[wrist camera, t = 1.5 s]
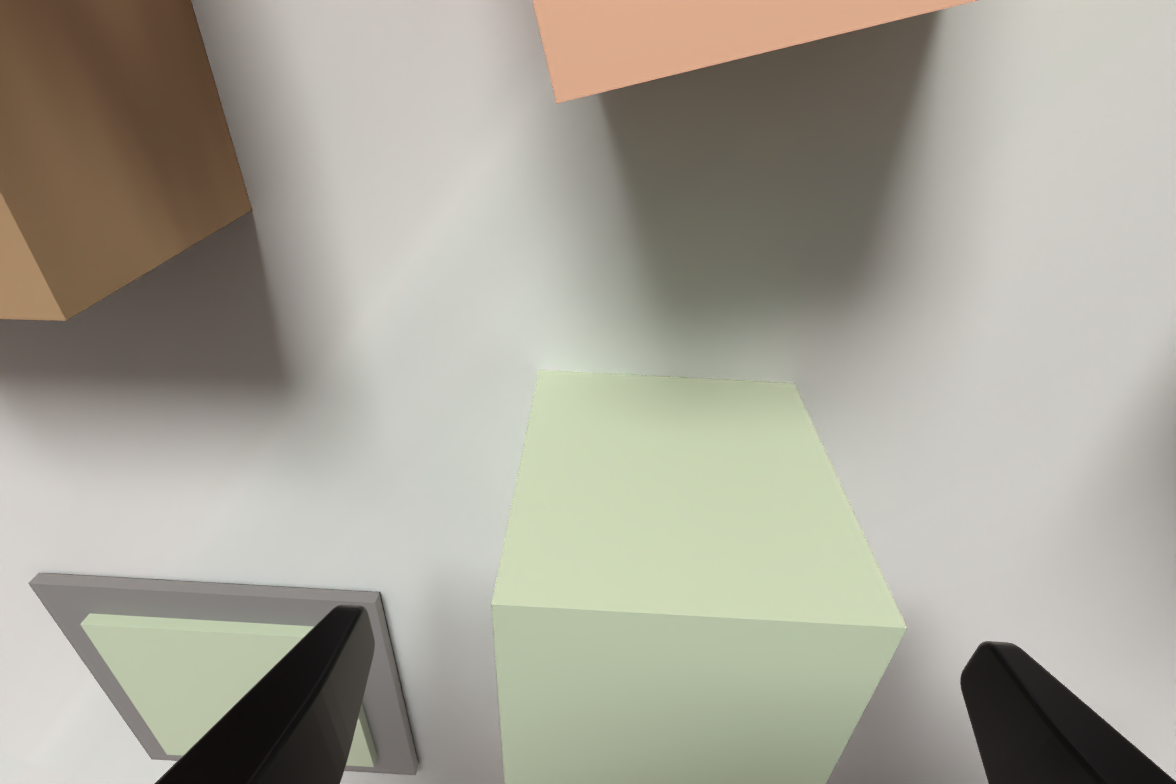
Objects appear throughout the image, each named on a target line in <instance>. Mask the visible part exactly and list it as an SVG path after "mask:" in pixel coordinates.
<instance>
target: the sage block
mask: <svg viewBox="0 0 1176 784" xmlns="http://www.w3.org/2000/svg"><path fill="white" fill-rule="evenodd" d="M491 607H492V621H493V634H494V648H495V661H496V675H497V688H498V702H499V715H500V729H501V742H502V756H503V769H504V783H505V784H826V783H827V781H828V779H829V777H830V775H831V773H832V771H833V769H834V767H835V766H836V764H837V762H838V760H839V758H840V756H841V754H842V752H843V750H844V748H845V746H846V744H847V743H848V741H849V739H850V737H851V735H852V733H853V731H854V729H855V727H856V725H857V723H858V722H859V720H860V718H861V716H862V714H863V712H864V710H865V708H866V706H867V704H868V702H869V701H870V699H871V697H872V695H873V693H874V691H875V689H876V687H877V685H878V683H879V681H880V679H881V678H882V676H883V674H884V672H885V670H886V668H887V666H888V664H889V662H890V660H891V658H892V657H893V655H894V653H895V651H896V649H897V647H898V645H899V643H900V641H901V639H902V637H903V635H904V634H905V632H906V630H907V626H906V624H905V622H904V620H903V617H902V615H901V613H900V611H899V609H898V607H897V604H896V602H895V600H894V598H893V596H892V594H891V591H890V589H889V587H888V585H887V583H886V581H885V578H884V576H883V574H882V572H881V570H880V568H879V565H878V563H877V561H876V559H875V557H874V554H873V552H872V550H871V548H870V546H869V544H868V541H867V539H866V537H865V535H864V533H863V531H862V528H861V526H860V524H859V522H858V520H857V518H856V515H855V513H854V511H853V509H852V507H851V505H850V502H849V500H848V498H847V496H846V494H845V492H844V489H843V487H842V485H841V483H840V481H839V479H838V476H837V474H836V472H835V470H834V468H833V466H832V463H831V461H830V459H829V457H828V455H827V453H826V450H825V448H824V446H823V444H822V442H821V440H820V437H819V435H818V433H817V431H816V429H815V427H814V424H813V422H812V420H811V418H810V416H809V414H808V411H807V409H806V407H805V405H804V403H803V401H802V398H801V396H800V394H799V392H798V390H797V388H796V385H795V383H778V382H759V381H741V380H722V379H703V378H684V377H665V376H647V375H628V374H609V373H590V372H571V371H553V370H539V372H538V377H537V382H536V387H535V392H534V397H533V401H532V406H531V411H530V416H529V421H528V426H527V431H526V436H525V441H524V446H523V451H522V456H521V461H520V465H519V470H518V475H517V480H516V485H515V490H514V495H513V500H512V505H511V510H510V515H509V520H508V525H507V529H506V534H505V539H504V544H503V549H502V554H501V559H500V564H499V569H498V574H497V579H496V584H495V589H494V593H493V598H492V603H491Z"/></svg>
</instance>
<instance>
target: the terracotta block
mask: <svg viewBox="0 0 1176 784" xmlns="http://www.w3.org/2000/svg"><path fill="white" fill-rule="evenodd" d="M974 1H978V0H533V5H534V9H535V13H536V17H537V22H538V26H539V30H540V35H541V39H542V43H543V48H544V52H545V56H546V61H547V65H548V69H549V74H550V78H551V82H552V87H553V91H554V95H555V100H556V104H557V103H561V102H565V101H569V100H573V99H577V98H581V97H585V96H589V95H593V94H597V93H602V92H606V91H610V90H614V89H618V88H622V87H626V86H630V85H634V84H638V83H642V82H647V81H651V80H655V79H659V78H663V77H667V76H671V75H675V74H679V73H683V72H687V71H692V70H696V69H700V68H704V67H708V66H712V65H716V64H720V63H724V62H728V61H732V60H736V59H741V58H745V57H749V56H753V55H757V54H761V53H765V52H769V51H773V50H777V49H781V48H786V47H790V46H794V45H798V44H802V43H806V42H810V41H814V40H818V39H822V38H826V37H831V36H835V35H839V34H843V33H847V32H851V31H855V30H859V29H863V28H867V27H871V26H876V25H880V24H884V23H888V22H892V21H896V20H900V19H904V18H908V17H912V16H916V15H921V14H925V13H929V12H933V11H937V10H941V9H945V8H949V7H953V6H957V5H961V4H966V3H970V2H974Z"/></svg>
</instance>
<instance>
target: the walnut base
mask: <svg viewBox="0 0 1176 784" xmlns="http://www.w3.org/2000/svg"><path fill="white" fill-rule="evenodd" d="M251 210H252V208H251V204H250V201H249V198H248V194H247V191H246V187H245V184H244V181H243V177H242V174H241V170H240V167H239V163H238V160H237V157H236V153H235V150H234V146H233V143H232V139H231V136H230V133H229V129H228V126H227V122H226V119H225V116H224V112H223V109H222V105H221V102H220V98H219V95H218V92H217V88H216V85H215V81H214V78H213V74H212V71H211V68H210V64H209V61H208V57H207V54H206V51H205V47H204V44H203V40H202V37H201V33H200V30H199V27H198V23H197V20H196V16H195V13H194V9H193V6H192V3H191V0H0V319H22V320H60V321H66V320H68V319H70V318H71V317H73V316H75V315H76V314H78V313H80V312H82V311H83V310H85V309H87V308H88V307H90V306H92V305H93V304H95V303H97V302H98V301H100V300H102V299H103V298H105V297H107V296H108V295H110V294H112V293H113V292H115V291H117V290H118V289H120V288H122V287H124V286H125V285H127V284H129V283H130V282H132V281H134V280H135V279H137V278H139V277H140V276H142V275H144V274H145V273H147V272H149V271H150V270H152V269H154V268H155V267H157V266H159V265H160V264H162V263H164V262H166V261H167V260H169V259H171V258H172V257H174V256H176V255H177V254H179V253H181V252H182V251H184V250H186V249H187V248H189V247H191V246H192V245H194V244H196V243H197V242H199V241H201V240H202V239H204V238H206V237H208V236H209V235H211V234H213V233H214V232H216V231H218V230H219V229H221V228H223V227H224V226H226V225H228V224H229V223H231V222H233V221H234V220H236V219H238V218H239V217H241V216H243V215H244V214H246V213H248V212H250V211H251Z"/></svg>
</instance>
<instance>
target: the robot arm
mask: <svg viewBox="0 0 1176 784" xmlns="http://www.w3.org/2000/svg"><path fill="white" fill-rule="evenodd" d="M374 650H375V638H374V634H373V630H372V626H371V622H370V618H369V614H368V611H367V609H366V608H365V607H364V606H362V605H345V604H342V605H338V606H336V607H334V608H333V609H332V610H331V611H330V612H329V613H328V614H327V615H326V616H325V617H324V618H323V619H322V620H321V621H319V622H318V623H317V624H316V625H315V626H314V627H313V628H312V629H311V630H310V631H309V632H308V633H307V634H306V635H305V636H304V637H303V638H302V639H301V640H300V641H299V642H298V643H297V644H296V645H295V646H294V647H293V648H292V649H291V650H290V651H289V652H288V653H287V654H286V655H285V656H284V657H283V658H282V659H281V660H280V661H279V662H278V663H277V664H276V665H275V666H274V667H273V668H272V669H271V670H270V671H269V672H268V673H267V674H266V675H265V676H264V677H263V678H262V679H261V680H260V681H259V682H257V683H256V684H255V685H254V686H253V687H252V688H251V689H250V690H249V691H248V692H247V693H246V694H245V695H244V696H243V697H242V698H241V699H240V700H239V701H238V702H237V703H236V704H235V705H234V706H233V707H232V708H231V709H230V710H229V711H228V712H227V713H226V714H225V715H224V716H223V717H222V718H221V719H220V720H219V721H218V722H217V723H216V724H215V725H214V726H213V727H212V728H211V729H210V730H209V731H208V732H207V733H206V734H205V735H204V736H203V737H202V738H201V739H200V740H199V741H198V742H197V743H195V744H194V745H193V746H192V747H191V748H190V749H189V750H188V751H187V752H186V753H185V754H184V755H183V756H182V757H181V758H180V759H179V760H178V761H177V762H176V763H175V764H174V765H173V766H172V767H171V768H170V769H169V770H168V771H167V772H166V773H165V774H164V775H163V776H162V777H161V778H160V779H159V780H158V781H157V782H156V783H155V784H340V781H341V778H342V775H343V772H344V769H345V766H346V763H347V760H348V756H349V752H350V749H351V745H352V741H353V737H354V733H355V729H356V725H357V721H358V717H359V713H360V709H361V705H362V701H363V696H364V692H365V688H366V684H367V680H368V676H369V672H370V668H371V664H372V660H373V656H374ZM960 683H961V690H962V694H963V697H964V701H965V704H966V707H967V711H968V714H969V718H970V721H971V724H972V728H973V731H974V735H975V738H976V742H977V745H978V748H979V752H980V755H981V759H982V762H983V766H984V769H985V772H986V776H987V779H988V783H989V784H1176V781H1175V780H1173V779H1172V778H1171V777H1170V776H1169V775H1168V774H1166V773H1165V772H1164V771H1163V770H1162V769H1161V768H1160V767H1158V766H1157V765H1156V764H1155V763H1154V762H1153V761H1151V760H1150V759H1149V758H1148V757H1147V756H1146V755H1144V754H1143V753H1142V752H1141V751H1140V750H1139V749H1137V748H1136V747H1135V746H1134V745H1133V744H1132V743H1130V742H1129V741H1128V740H1127V739H1126V738H1125V737H1123V736H1122V735H1121V734H1120V733H1119V732H1118V731H1116V730H1115V729H1114V728H1113V727H1112V726H1111V725H1109V724H1108V723H1107V722H1106V721H1105V720H1104V719H1102V718H1101V717H1100V716H1099V715H1098V714H1097V713H1096V712H1094V711H1093V710H1092V709H1091V708H1090V707H1089V706H1087V705H1086V704H1085V703H1084V702H1083V701H1082V700H1080V699H1079V698H1078V697H1077V696H1076V695H1075V694H1073V693H1072V692H1071V691H1070V690H1069V689H1068V688H1066V687H1065V686H1064V685H1063V684H1062V683H1061V682H1059V681H1058V680H1057V679H1056V678H1055V677H1054V676H1052V675H1051V674H1050V673H1049V672H1048V671H1047V670H1045V669H1044V668H1043V667H1042V666H1041V665H1040V664H1039V663H1037V662H1036V661H1035V660H1034V659H1033V658H1032V657H1030V656H1029V655H1028V654H1027V653H1026V652H1025V651H1023V650H1022V649H1021V648H1020V647H1018V646H1016V645H1014V644H1012V643H1008V642H991V641H986V642H983V643H981V644H980V645H979V646H978V648H977V649H976V651H975V652H974V654H973V655H972V657H971V659H970V660H969V662H968V663H967V665H966V666H965V668H964V669H963V671H962V674H961V682H960Z"/></svg>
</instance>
